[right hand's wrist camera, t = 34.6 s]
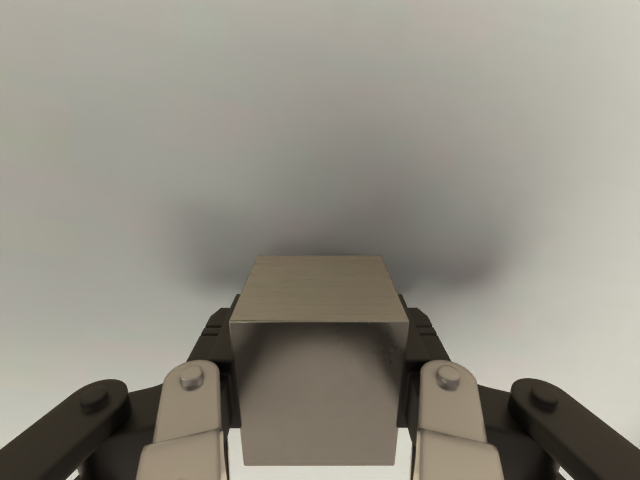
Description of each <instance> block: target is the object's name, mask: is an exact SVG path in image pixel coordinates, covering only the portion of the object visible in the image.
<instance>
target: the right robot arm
mask: <svg viewBox="0 0 640 480" xmlns="http://www.w3.org/2000/svg"><path fill="white" fill-rule="evenodd" d="M240 295H241V294H237V295H236V297H235V299H234V301H233V303H232V305H231V308H221V309H219V310H218V311H217V312H215V313H214V314H213V315H212V316H211V317H210V318H209V320H208V322H207V324H206V327H205V328H204V330H203V332H202V333H201V336H200V337H199V339H198V341H197V343H196V345H195V346H194V348H193V350H192V352H191V354H190V356H189V358H188V360H187V361H186V363H183V364H181V365H179V366H177V367H175V368H174V369H173V370H171V371H170V372H169V373H168V374H167V376H166V377H165V379H164V382H163V384H160V385H158V386H155V387H151V388H147V389H143V390H138V391H134V392H130V393H128V389H127V386H126V384H125V383H123V382H122V381H120V380H115V379H107V380H101V381H97V382H94V383H91V384H88V385H86V386H84V387H82V388H81V389H79V390H77V391H76V392H74V393H73V394H72V395H70V396H69V397H68V398H67V399H65V400H64V401H63V402H61V403H60V404H59V405H57V406H56V407H55V408H54V409H52V410H51V411H50V412H48V413H47V414H46V415H45V416H43V417H42V418H41V419H39V420H38V421H37V422H35V423H34V424H33V425H32V426H30V427H29V428H28V429H26V430H25V431H24V432H23V433H21V434H20V435H19V436H17V437H16V438H15V439H13V440H12V441H11V442H10V443H8V444H7V445H6V446H4V447H3V448H2V449H1V450H0V480H66V479H67V478H68V477H69V476H70V475H71V474H72V473H73V472H74V471H75V470H76V469H77V470H78V473H79V475H78V476H77V477H76V478H75V479H74V480H230V461H229V446H228V438H227V436H228V433H229V429H230V428H241V417H240V408H239V398H238V388H237V379H236V369H235V359H233V356H232V346H231V337H230V327H229V320H230V318H231V316H232V313H233V311H234V309H235V306H236V304H237V302H238V299H239V297H240ZM398 297H399V299H400V301H401V304H402V306H403V308H404V311H405V313H406V315H407V318H408V320H409V328H408V337H407V347H406V357H405V359H403V364H402V374H401V384H400V394H399V404H398V414H397V424H396V427H397V428H408V430H409V434H410V437H411V441H412V446H411V461H410V480H566V479H565V478H564V477H563V476H562V475H561V474H560V473H559V472H558V471H559V468H560V466H561V467H562V468H563V469H564V470H565V471H566V472H567V473H568V474H569V475H570V476H571V477H572V478H573V479H574V480H640V450H639V449H638V448H637V447H636V446H634V445H633V444H632V443H630V442H629V441H628V440H626V439H625V438H624V437H623V436H621V435H620V434H619V433H617V432H616V431H615V430H614V429H612V428H611V427H610V426H608V425H607V424H606V423H604V422H603V421H602V420H601V419H599V418H598V417H597V416H595V415H594V414H593V413H592V412H590V411H589V410H588V409H586V408H585V407H584V406H582V405H581V404H580V403H579V402H577V401H576V400H575V399H573V398H572V397H571V396H570V395H568V394H567V393H566V392H564V391H563V390H561V389H560V388H558V387H556V386H554V385H552V384H550V383H548V382H545V381H542V380H538V379H532V378H524V379H519V380H517V381H515V382H514V383H513V384H512V387H511V391H510V392H505V391H501V390H497V389H493V388H488V387H484V386H481V385H478V384H477V382H476V379H475V377H474V376H473V374H472V373H471V372H470V371H469V370H467V369H466V368H465V367H463V366H461V365H459V364H457V363H454V362H451V360H450V358H449V356H448V354H447V352H446V351H445V349H444V347H443V345H442V343H441V341H440V339H439V337H438V336H437V335H436V332H435V330H434V328H433V327H432V324H431V322H430V320H429V318H428V316H427V315H425V314H424V313H423V312H422V311H420V310H419V309H418V308H408V307H407V305H406V303H405V301H404V299H403V296H402V294H398Z"/></svg>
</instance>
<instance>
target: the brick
mask: <svg viewBox="0 0 640 480" xmlns="http://www.w3.org/2000/svg"><path fill="white" fill-rule="evenodd" d="M229 327H230V337H231V346H232V356H233V359H235V369H236V379H237V388H238V398H239V408H240V417H241V428H240V432H241V442H242V451H243V461H244V465H245V466H393V465H394V463H395V454H396V444H397V435H398V428H397V427H396V424H397V414H398V404H399V394H400V384H401V374H402V364H403V359H405V357H406V347H407V337H408V328H409V320H408V318H407V315H406V313H405V311H404V308H403V306H402V304H401V301H400V299H399V297H398V294H397V292H396V290H395V287H394V285H393V283H392V280H391V278H390V276H389V273H388V271H387V269H386V266H385V264H384V262H383V259H382V257H381V256H257V258H256V260H255V262H254V265H253V267H252V269H251V272H250V274H249V276H248V279H247V281H246V283H245V286H244V288H243V290H242V292H241V295H240V297H239V299H238V302H237V304H236V306H235V309H234V311H233V313H232V316H231V318H230V320H229Z"/></svg>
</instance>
